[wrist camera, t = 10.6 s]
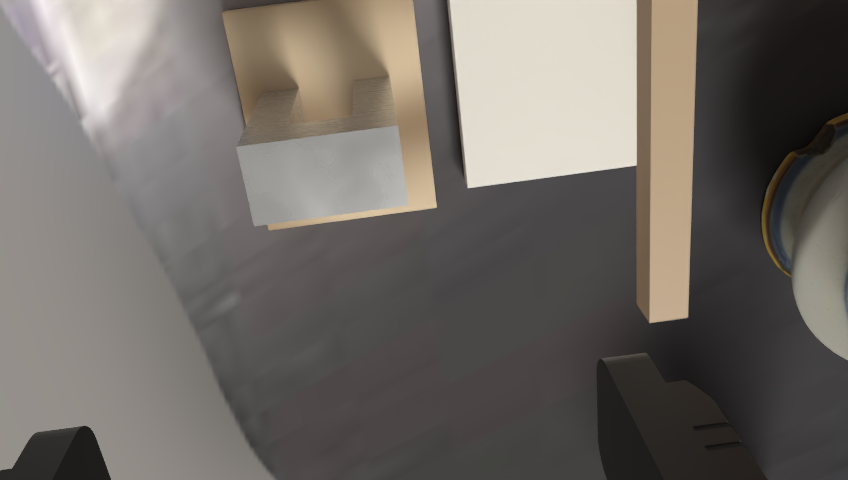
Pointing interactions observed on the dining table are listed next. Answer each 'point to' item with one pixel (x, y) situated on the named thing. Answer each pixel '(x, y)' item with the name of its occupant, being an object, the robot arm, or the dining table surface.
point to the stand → (587, 111)
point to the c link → (322, 157)
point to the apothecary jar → (814, 231)
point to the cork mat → (337, 72)
